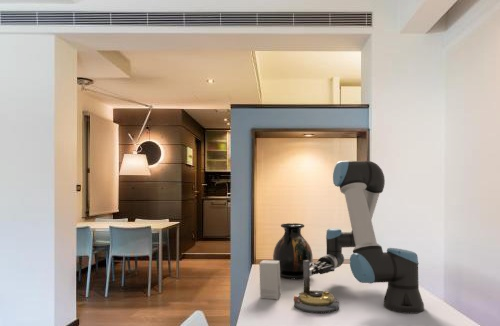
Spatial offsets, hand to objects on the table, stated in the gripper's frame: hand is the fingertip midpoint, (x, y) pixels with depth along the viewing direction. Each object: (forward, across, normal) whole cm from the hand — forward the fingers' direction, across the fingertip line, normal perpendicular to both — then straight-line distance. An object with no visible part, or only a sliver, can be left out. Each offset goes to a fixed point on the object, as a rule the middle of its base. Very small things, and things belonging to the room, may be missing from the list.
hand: (307, 273), depth 160 cm
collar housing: (+4, -6, -12) cm, 14 cm away
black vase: (-35, +24, -12) cm, 44 cm away
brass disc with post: (+4, -6, -9) cm, 12 cm away
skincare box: (+4, +16, -12) cm, 20 cm away
